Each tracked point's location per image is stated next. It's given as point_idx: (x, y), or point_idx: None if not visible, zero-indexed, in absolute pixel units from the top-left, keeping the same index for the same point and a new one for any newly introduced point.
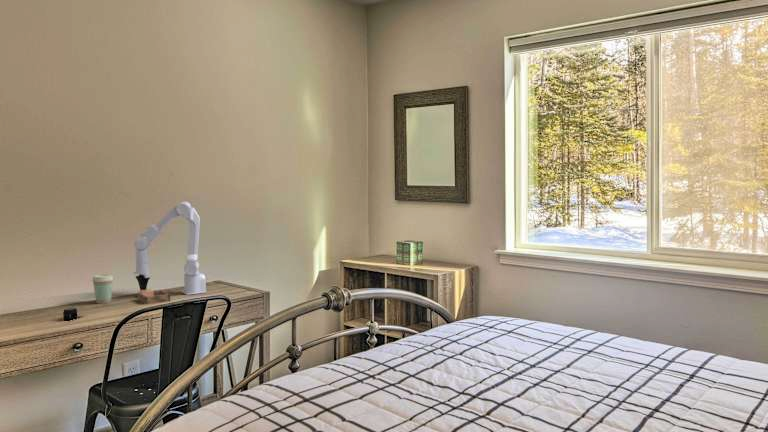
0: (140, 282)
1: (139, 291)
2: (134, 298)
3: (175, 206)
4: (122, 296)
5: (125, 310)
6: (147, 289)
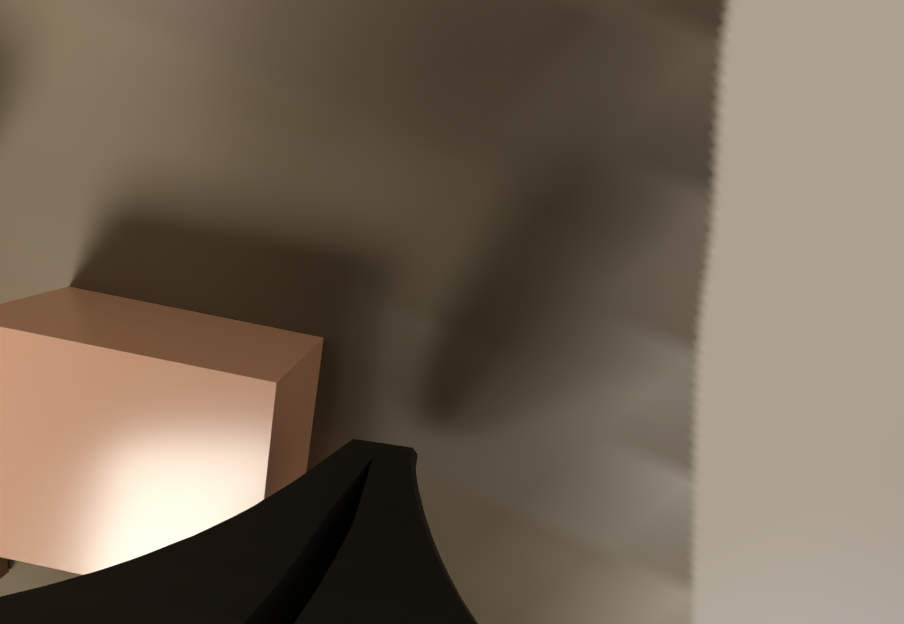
0: (166, 555)
1: (270, 368)
2: (143, 159)
3: None
4: (526, 40)
5: None
6: None
